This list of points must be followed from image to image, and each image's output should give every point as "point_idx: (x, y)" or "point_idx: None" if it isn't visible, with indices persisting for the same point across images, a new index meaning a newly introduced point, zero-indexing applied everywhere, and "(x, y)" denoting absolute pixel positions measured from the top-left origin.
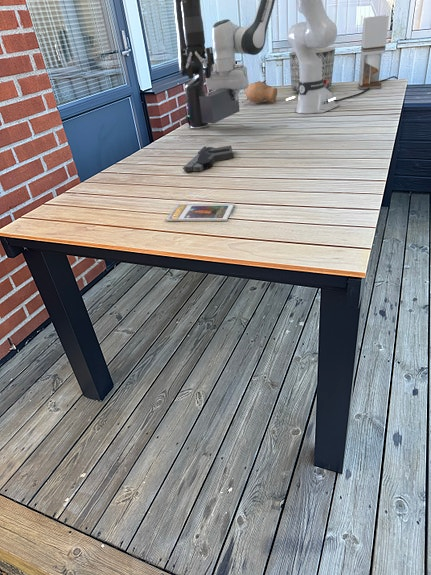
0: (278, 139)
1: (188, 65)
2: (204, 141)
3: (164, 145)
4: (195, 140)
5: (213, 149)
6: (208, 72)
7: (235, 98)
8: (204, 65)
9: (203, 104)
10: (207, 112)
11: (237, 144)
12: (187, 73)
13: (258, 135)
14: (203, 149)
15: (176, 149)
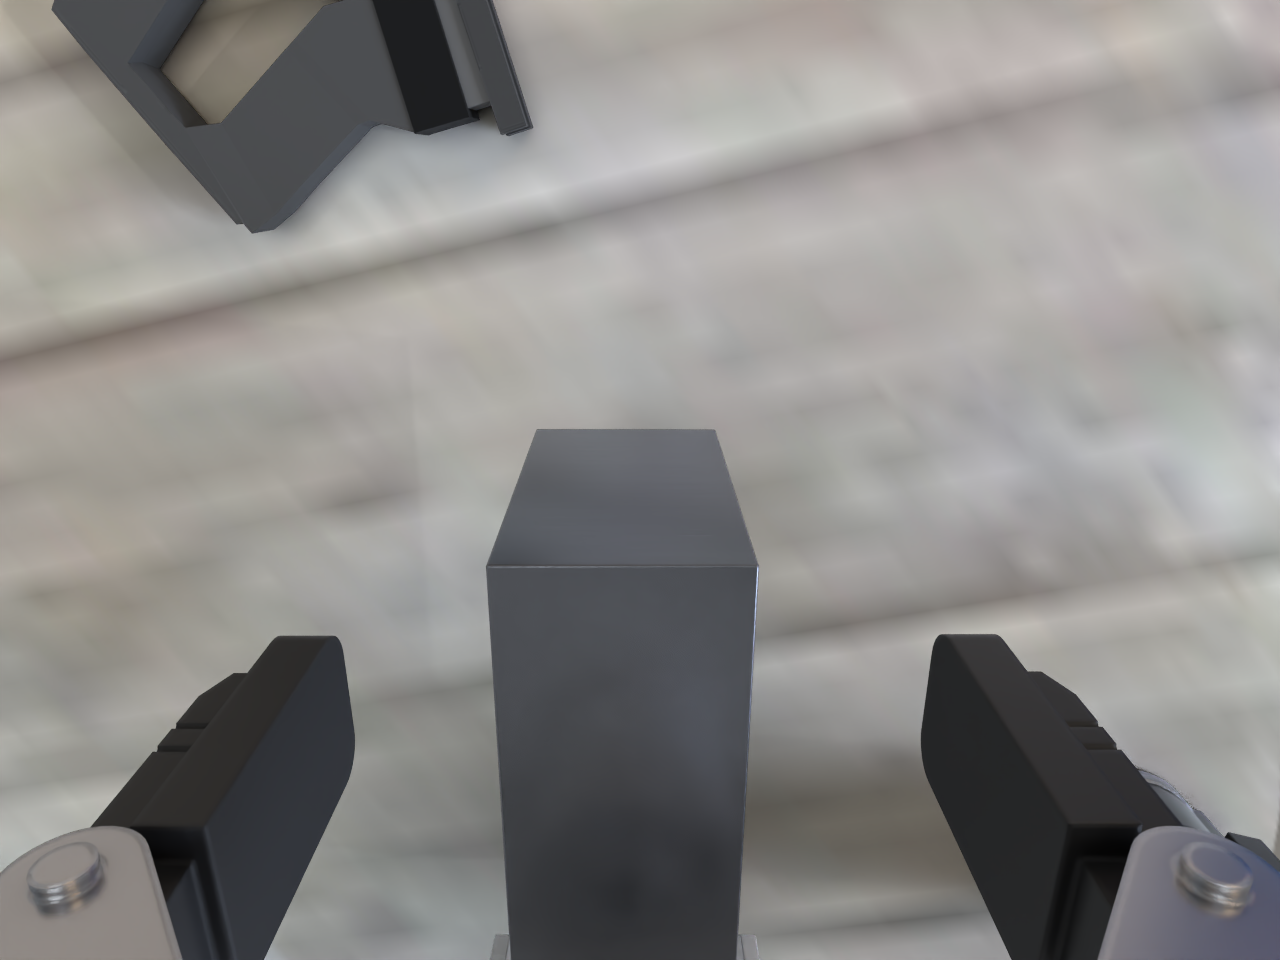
0: (103, 646)
1: (1131, 922)
2: (771, 458)
3: (1165, 237)
4: (891, 468)
5: (344, 57)
6: (165, 744)
7: (494, 952)
8: (140, 895)
9: (671, 512)
10: (611, 470)
11: (369, 444)
12: (1112, 740)
13: (357, 712)
14: (467, 34)
15: (929, 141)
